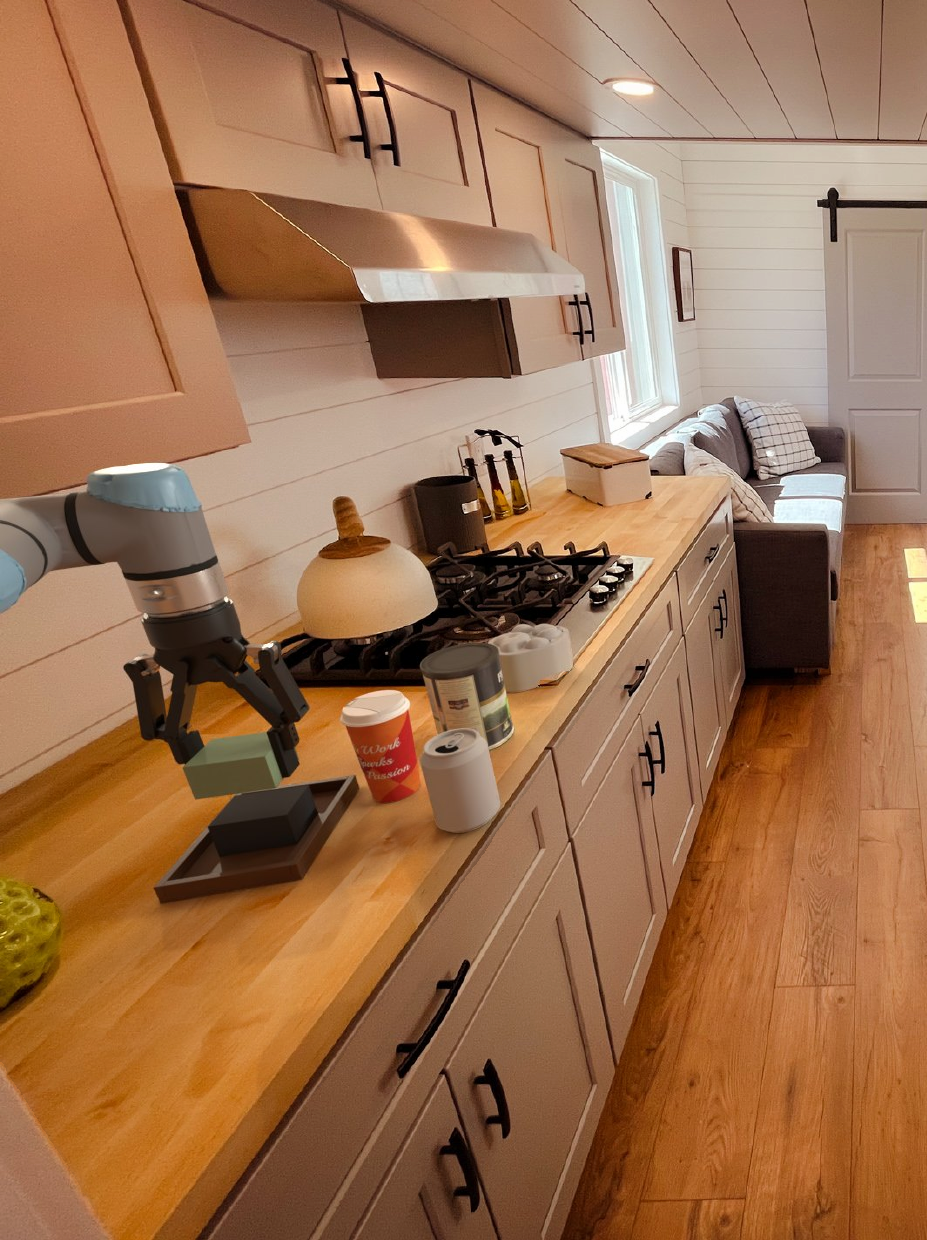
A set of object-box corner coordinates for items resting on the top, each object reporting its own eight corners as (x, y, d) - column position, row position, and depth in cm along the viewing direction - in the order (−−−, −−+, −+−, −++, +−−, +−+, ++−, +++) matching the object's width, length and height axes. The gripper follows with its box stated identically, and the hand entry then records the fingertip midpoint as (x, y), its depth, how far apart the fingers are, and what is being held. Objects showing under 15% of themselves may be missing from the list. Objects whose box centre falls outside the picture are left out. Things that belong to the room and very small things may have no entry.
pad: (195, 800, 84) (181, 767, 82) (223, 769, 89) (212, 738, 88) (276, 788, 86) (265, 756, 84) (299, 759, 91) (289, 729, 90)
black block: (219, 857, 87) (207, 826, 85) (245, 824, 92) (234, 795, 91) (297, 844, 89) (286, 814, 87) (318, 813, 94) (309, 785, 93)
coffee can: (503, 712, 119) (487, 635, 114) (523, 739, 112) (507, 658, 107) (432, 736, 113) (412, 655, 108) (448, 765, 106) (428, 680, 101)
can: (423, 834, 92) (401, 754, 88) (463, 796, 99) (445, 721, 95) (476, 840, 91) (457, 760, 87) (513, 802, 98) (497, 726, 94)
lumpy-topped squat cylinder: (489, 675, 131) (480, 632, 128) (561, 653, 140) (555, 612, 137) (509, 696, 124) (500, 651, 121) (584, 672, 133) (577, 629, 130)
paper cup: (350, 808, 96) (323, 718, 92) (386, 773, 104) (362, 688, 99) (410, 807, 97) (386, 717, 92) (441, 772, 104) (420, 687, 99)
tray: (160, 903, 81) (153, 888, 80) (243, 805, 97) (237, 791, 96) (302, 879, 85) (296, 864, 84) (359, 788, 100) (355, 774, 100)
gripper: (39, 629, 73) (121, 812, 81) (281, 608, 79) (335, 781, 87) (92, 601, 80) (163, 773, 88) (311, 584, 86) (359, 746, 94)
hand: (248, 777), depth 87 cm, fingers closed on pad, 8 cm apart
